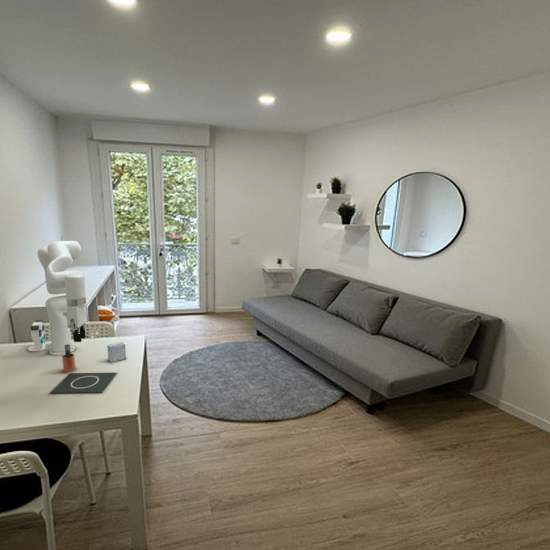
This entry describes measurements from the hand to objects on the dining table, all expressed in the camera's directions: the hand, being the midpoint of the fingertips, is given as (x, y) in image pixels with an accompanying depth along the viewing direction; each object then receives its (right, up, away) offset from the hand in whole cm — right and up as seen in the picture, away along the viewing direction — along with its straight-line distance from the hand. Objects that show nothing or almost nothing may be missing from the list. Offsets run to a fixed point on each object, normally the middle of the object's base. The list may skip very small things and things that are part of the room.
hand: (79, 339), depth 161 cm
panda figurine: (-46, -12, +41) cm, 63 cm away
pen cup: (-14, -18, +16) cm, 28 cm away
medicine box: (+4, -16, +29) cm, 33 cm away
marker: (-14, -18, +16) cm, 27 cm away
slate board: (0, -21, +4) cm, 22 cm away
